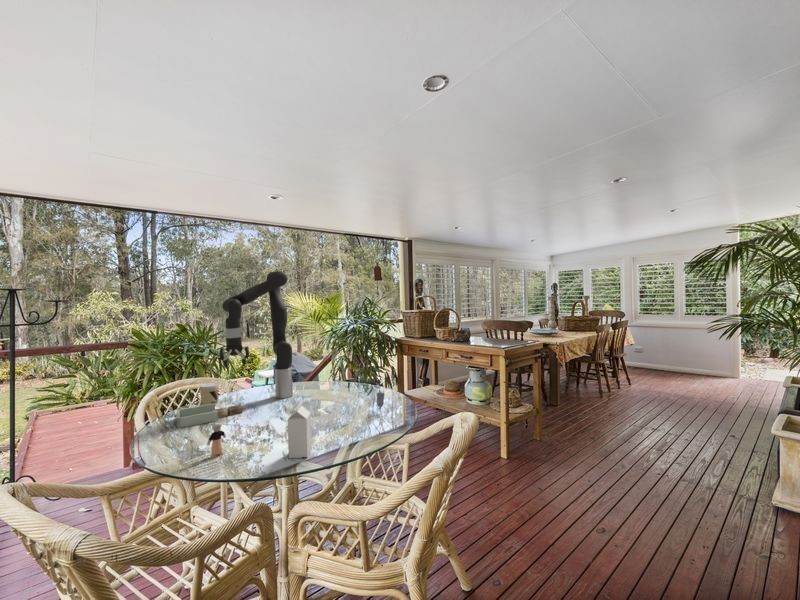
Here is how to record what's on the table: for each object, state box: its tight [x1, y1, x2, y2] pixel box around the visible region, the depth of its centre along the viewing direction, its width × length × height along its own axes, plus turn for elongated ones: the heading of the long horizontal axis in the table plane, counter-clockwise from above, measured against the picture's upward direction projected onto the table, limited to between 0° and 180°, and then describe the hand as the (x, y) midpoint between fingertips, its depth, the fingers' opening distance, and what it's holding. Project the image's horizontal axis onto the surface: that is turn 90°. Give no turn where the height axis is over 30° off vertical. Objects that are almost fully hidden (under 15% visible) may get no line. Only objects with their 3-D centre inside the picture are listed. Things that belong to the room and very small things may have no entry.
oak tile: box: [213, 407, 229, 419], centre depth 182 cm, size 6×6×3 cm
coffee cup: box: [199, 382, 220, 407], centre depth 197 cm, size 9×9×12 cm
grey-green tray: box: [176, 403, 219, 429], centre depth 176 cm, size 17×15×4 cm
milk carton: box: [287, 402, 312, 459], centre depth 136 cm, size 7×7×19 cm
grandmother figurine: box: [206, 421, 227, 459], centre depth 137 cm, size 8×4×13 cm, turn 164°
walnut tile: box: [227, 404, 244, 416], centre depth 186 cm, size 6×6×3 cm
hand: (235, 366), depth 189 cm, fingers open, 8 cm apart
